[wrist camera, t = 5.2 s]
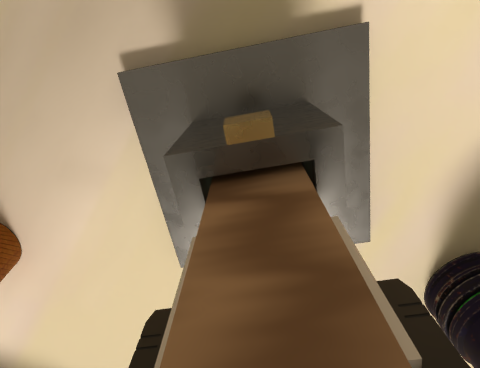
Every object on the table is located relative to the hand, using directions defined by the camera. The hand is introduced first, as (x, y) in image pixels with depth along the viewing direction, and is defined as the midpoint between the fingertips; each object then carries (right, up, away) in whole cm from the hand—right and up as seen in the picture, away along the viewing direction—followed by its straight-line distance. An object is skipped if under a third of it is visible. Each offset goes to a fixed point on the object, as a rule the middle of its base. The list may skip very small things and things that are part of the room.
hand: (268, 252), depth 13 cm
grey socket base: (0, +5, +12) cm, 13 cm away
